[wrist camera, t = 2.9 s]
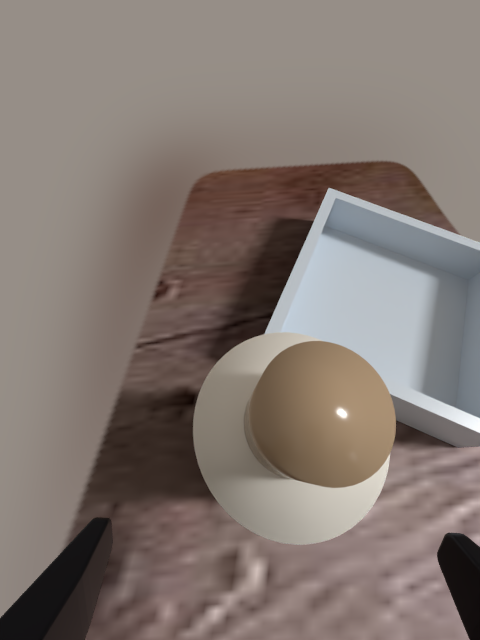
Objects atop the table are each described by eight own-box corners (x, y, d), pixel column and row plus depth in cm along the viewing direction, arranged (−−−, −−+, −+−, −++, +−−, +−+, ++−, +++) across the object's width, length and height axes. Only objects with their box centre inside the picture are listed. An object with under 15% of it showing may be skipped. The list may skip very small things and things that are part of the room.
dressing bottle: (282, 519, 16) (452, 666, 5) (186, 470, 17) (122, 491, 5) (314, 416, 19) (477, 344, 7) (229, 377, 20) (250, 253, 8)
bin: (457, 447, 19) (507, 444, 16) (255, 357, 20) (262, 338, 17) (473, 280, 25) (511, 254, 21) (315, 220, 26) (328, 187, 23)
